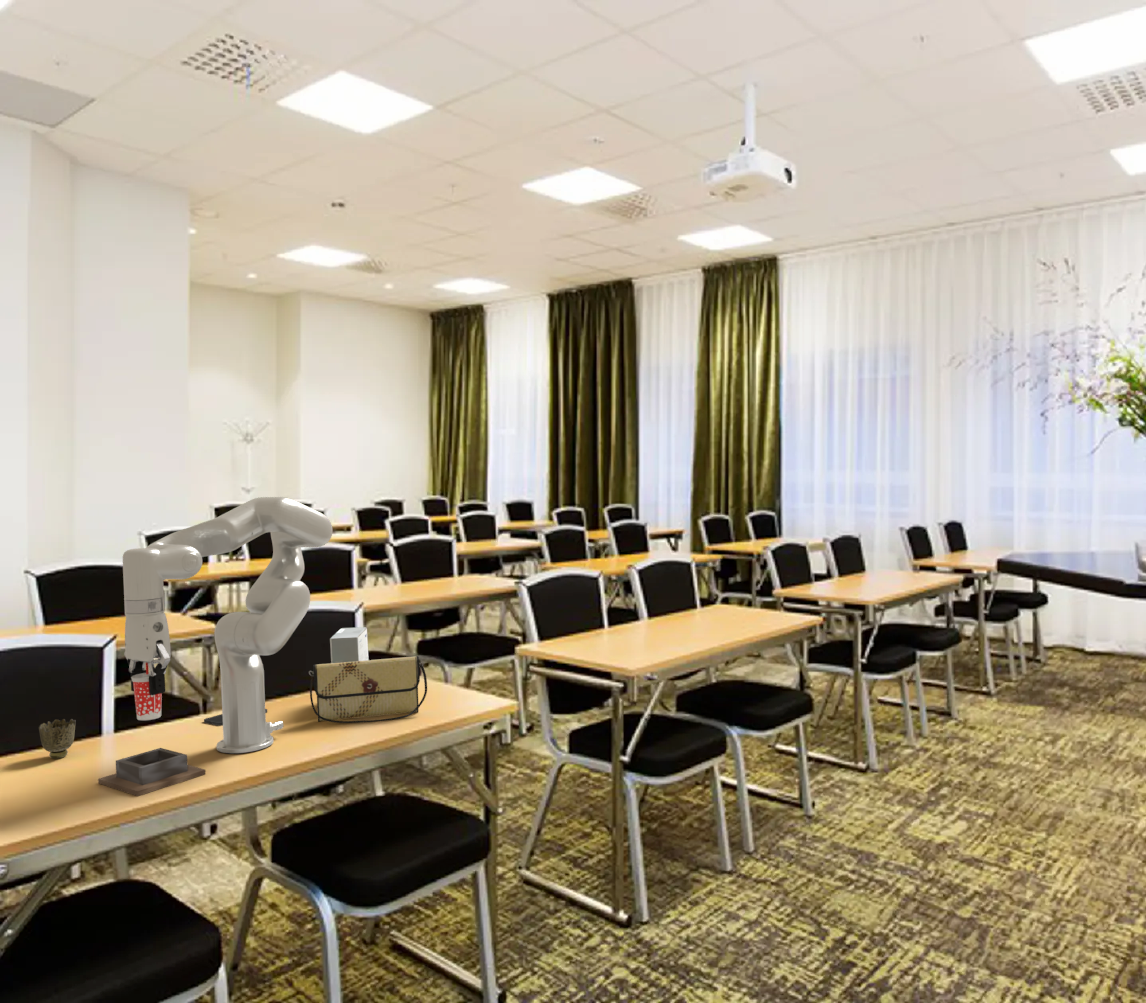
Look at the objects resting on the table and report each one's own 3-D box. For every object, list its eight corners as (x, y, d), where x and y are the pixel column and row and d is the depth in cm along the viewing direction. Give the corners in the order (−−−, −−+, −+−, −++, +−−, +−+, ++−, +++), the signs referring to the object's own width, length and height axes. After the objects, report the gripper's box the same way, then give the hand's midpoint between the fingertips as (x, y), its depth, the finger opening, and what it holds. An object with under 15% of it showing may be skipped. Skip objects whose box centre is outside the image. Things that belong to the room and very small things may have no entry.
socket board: (165, 763, 200) (164, 743, 200) (205, 774, 191) (204, 753, 191) (98, 783, 187) (97, 762, 187) (137, 796, 179) (136, 774, 179)
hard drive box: (343, 697, 256) (341, 627, 255) (370, 695, 256) (368, 626, 256) (332, 711, 240) (329, 637, 240) (361, 710, 241) (358, 636, 240)
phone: (269, 709, 242) (220, 723, 229) (269, 713, 242) (220, 727, 229) (250, 706, 246) (201, 719, 233) (250, 710, 246) (201, 723, 233)
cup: (32, 762, 204) (30, 727, 203) (55, 751, 211) (53, 718, 211) (62, 762, 203) (60, 727, 202) (84, 752, 210) (82, 718, 210)
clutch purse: (310, 728, 225) (307, 669, 224) (311, 721, 231) (308, 663, 231) (429, 716, 232) (427, 659, 232) (426, 710, 239) (424, 654, 239)
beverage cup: (156, 712, 193) (154, 647, 193) (170, 716, 189) (167, 650, 189) (127, 718, 188) (125, 652, 188) (141, 723, 185) (138, 655, 184)
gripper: (184, 607, 186) (188, 692, 187) (139, 602, 196) (142, 683, 197) (150, 612, 180) (154, 700, 181) (105, 607, 190) (108, 691, 190)
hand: (148, 691), depth 189 cm, fingers closed on beverage cup, 6 cm apart
